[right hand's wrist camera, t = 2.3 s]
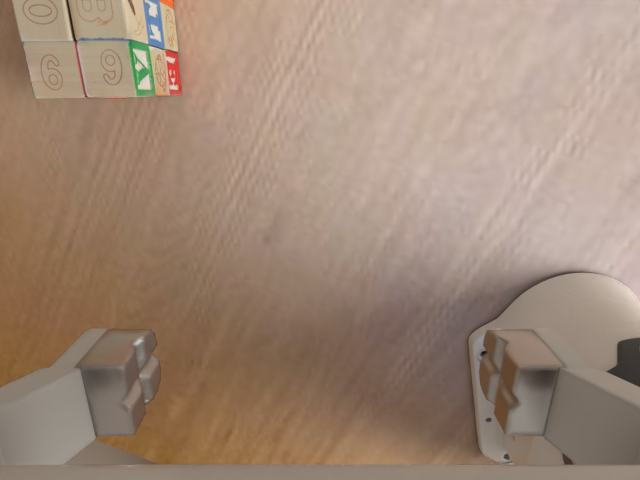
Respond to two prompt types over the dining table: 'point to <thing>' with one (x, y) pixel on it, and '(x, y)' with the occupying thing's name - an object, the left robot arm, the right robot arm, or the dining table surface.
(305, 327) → the dining table surface
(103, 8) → the stack of blocks
